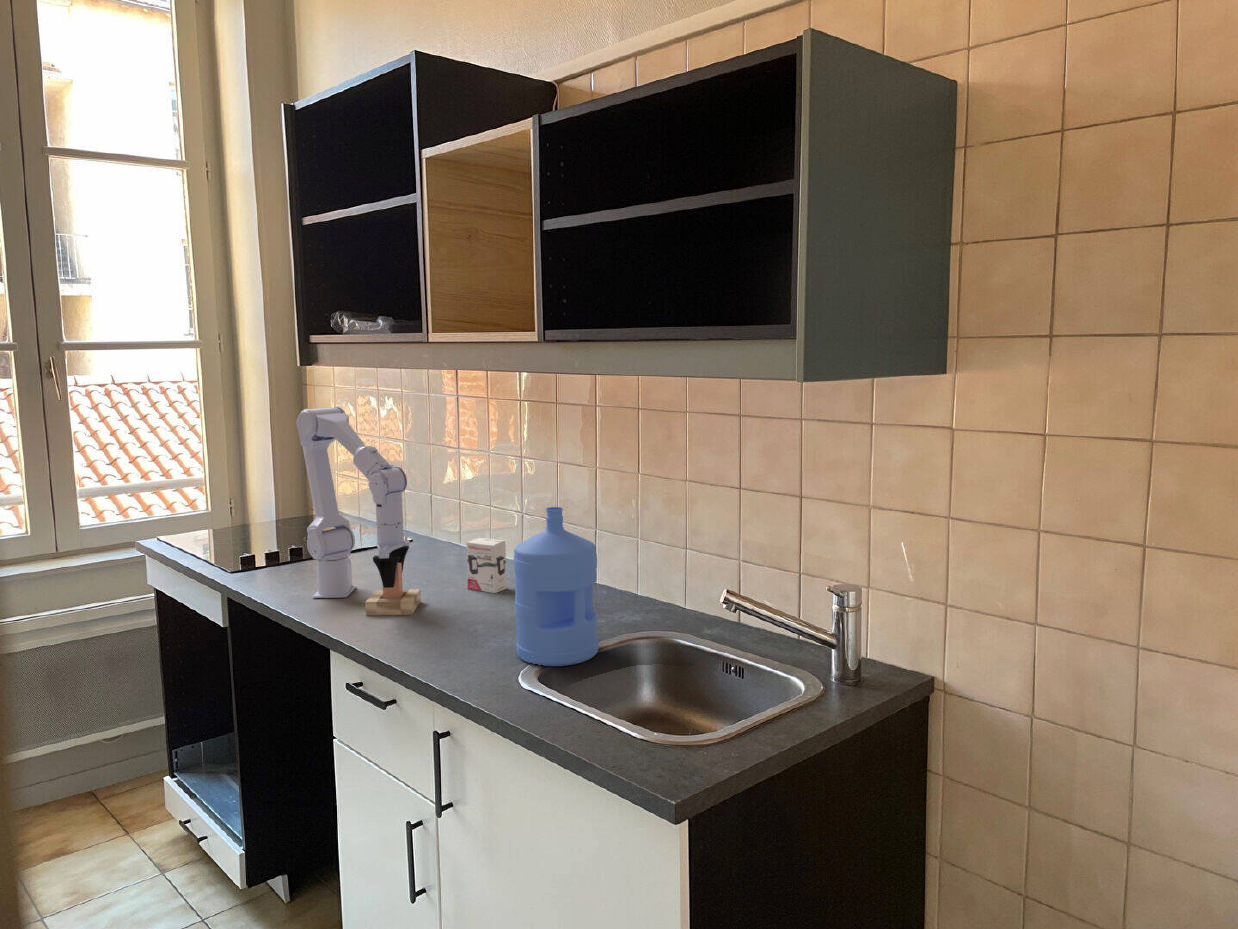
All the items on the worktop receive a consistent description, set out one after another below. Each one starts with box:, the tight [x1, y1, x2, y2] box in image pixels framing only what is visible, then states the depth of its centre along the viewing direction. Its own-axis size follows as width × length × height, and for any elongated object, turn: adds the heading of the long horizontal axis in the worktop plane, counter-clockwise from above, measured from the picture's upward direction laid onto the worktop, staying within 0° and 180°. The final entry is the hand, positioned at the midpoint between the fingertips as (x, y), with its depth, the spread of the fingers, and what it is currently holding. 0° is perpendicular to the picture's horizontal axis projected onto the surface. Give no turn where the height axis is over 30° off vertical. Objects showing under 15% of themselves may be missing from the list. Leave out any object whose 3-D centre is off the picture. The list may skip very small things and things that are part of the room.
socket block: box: [364, 588, 422, 616], centre depth 207 cm, size 10×10×3 cm
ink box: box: [466, 537, 508, 594], centre depth 221 cm, size 8×5×12 cm, turn 60°
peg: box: [381, 563, 404, 599], centre depth 206 cm, size 4×4×10 cm
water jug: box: [513, 506, 600, 667], centre depth 174 cm, size 16×16×28 cm
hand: (392, 582), depth 206 cm, fingers open, 7 cm apart
